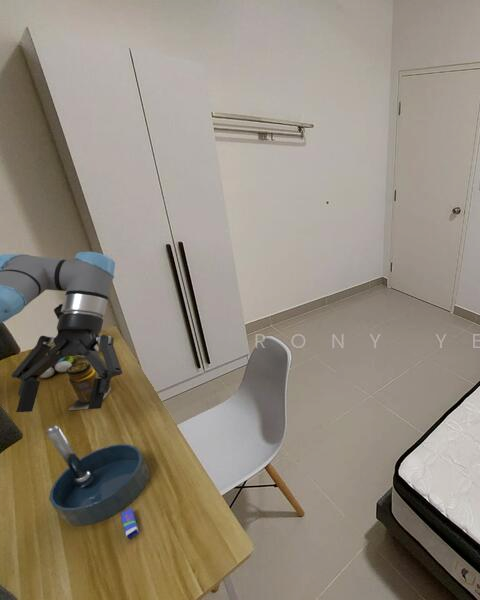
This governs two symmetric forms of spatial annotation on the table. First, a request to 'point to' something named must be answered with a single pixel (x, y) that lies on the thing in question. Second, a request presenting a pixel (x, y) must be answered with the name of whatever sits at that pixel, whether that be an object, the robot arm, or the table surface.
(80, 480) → the silver-tipped handle
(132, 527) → the eraser
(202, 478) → the table surface
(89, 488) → the bowl
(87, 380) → the condiment
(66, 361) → the rainbow petal flower
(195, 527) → the table surface
